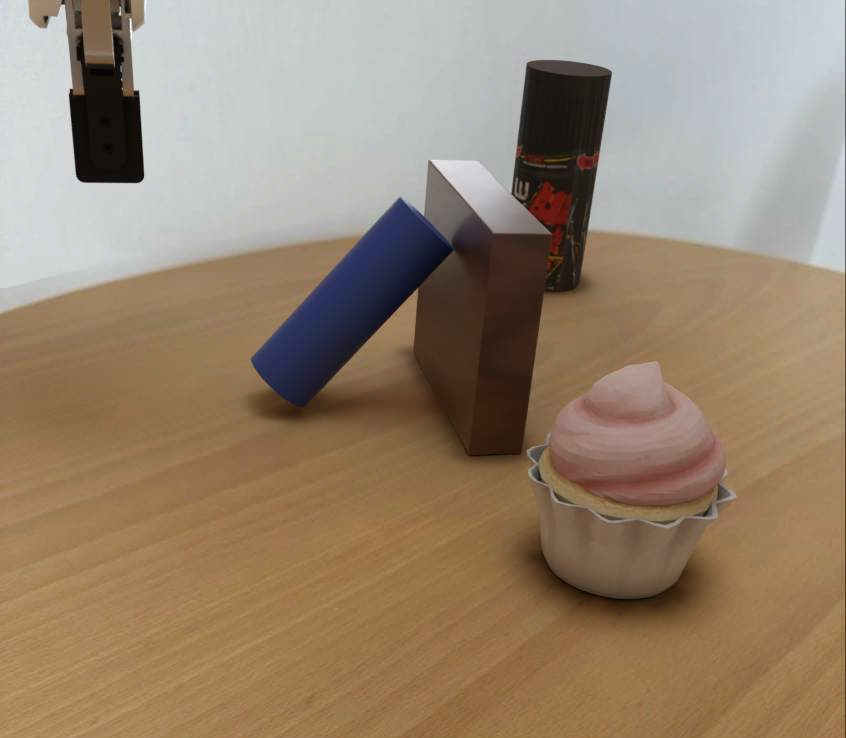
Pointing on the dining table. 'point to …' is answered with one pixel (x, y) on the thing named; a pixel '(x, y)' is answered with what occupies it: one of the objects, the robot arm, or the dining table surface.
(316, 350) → the tube
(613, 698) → the dining table surface
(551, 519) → the cupcake
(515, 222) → the block
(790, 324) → the dining table surface
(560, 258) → the deodorant
